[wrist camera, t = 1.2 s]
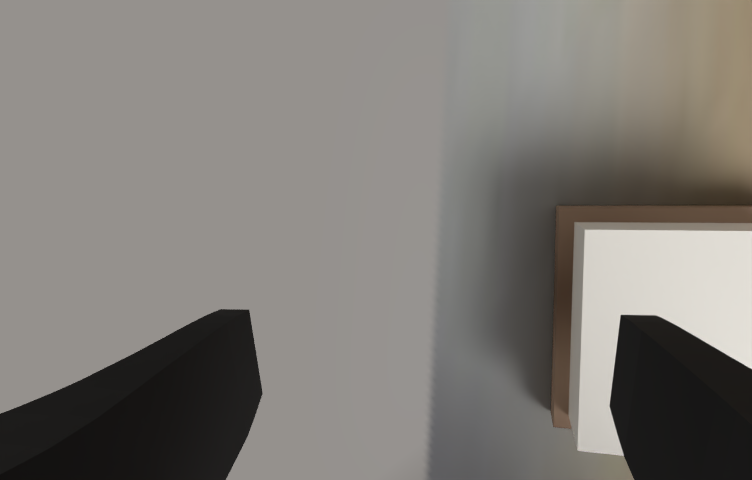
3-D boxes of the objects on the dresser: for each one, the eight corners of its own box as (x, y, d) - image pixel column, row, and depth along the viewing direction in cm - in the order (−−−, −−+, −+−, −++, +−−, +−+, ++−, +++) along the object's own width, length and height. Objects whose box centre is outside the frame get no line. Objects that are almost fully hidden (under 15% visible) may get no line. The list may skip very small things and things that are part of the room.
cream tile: (759, 432, 17) (800, 474, 15) (568, 415, 19) (577, 450, 16) (776, 223, 16) (822, 231, 14) (574, 222, 18) (584, 229, 15)
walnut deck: (759, 431, 18) (775, 448, 17) (550, 412, 20) (553, 426, 19) (776, 205, 17) (795, 207, 16) (556, 205, 19) (559, 207, 18)
